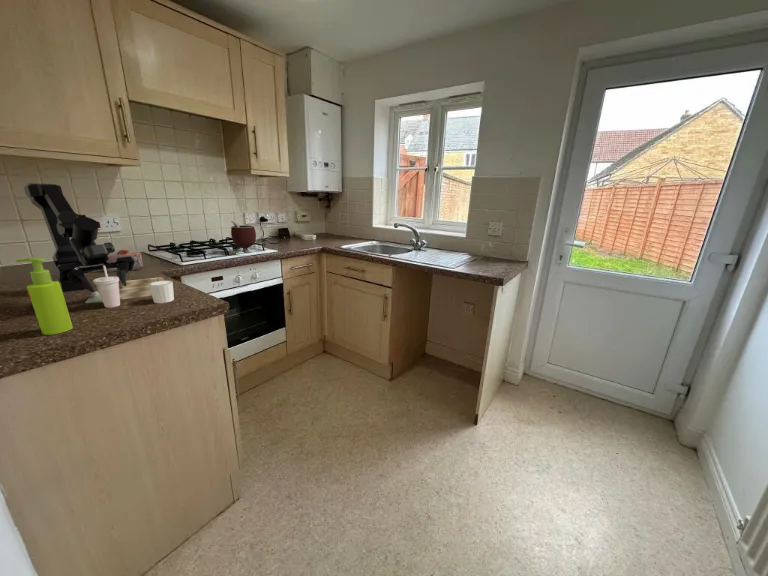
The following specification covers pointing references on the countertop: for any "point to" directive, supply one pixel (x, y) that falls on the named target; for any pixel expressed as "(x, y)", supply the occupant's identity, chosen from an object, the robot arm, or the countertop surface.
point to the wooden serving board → (137, 288)
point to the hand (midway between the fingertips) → (110, 288)
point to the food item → (136, 255)
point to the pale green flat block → (94, 298)
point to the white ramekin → (162, 291)
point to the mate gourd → (243, 236)
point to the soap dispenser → (47, 300)
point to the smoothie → (108, 290)
